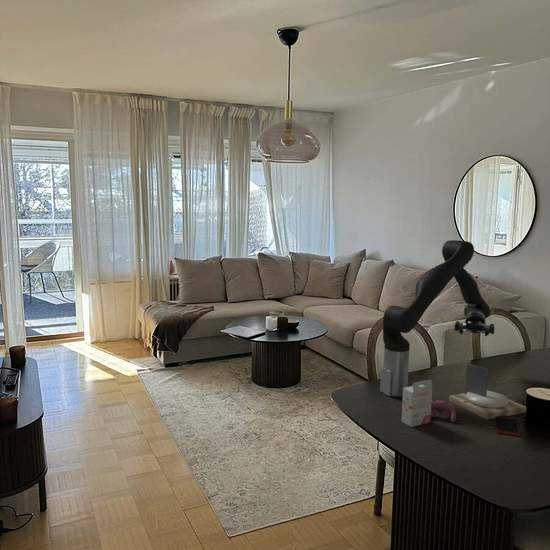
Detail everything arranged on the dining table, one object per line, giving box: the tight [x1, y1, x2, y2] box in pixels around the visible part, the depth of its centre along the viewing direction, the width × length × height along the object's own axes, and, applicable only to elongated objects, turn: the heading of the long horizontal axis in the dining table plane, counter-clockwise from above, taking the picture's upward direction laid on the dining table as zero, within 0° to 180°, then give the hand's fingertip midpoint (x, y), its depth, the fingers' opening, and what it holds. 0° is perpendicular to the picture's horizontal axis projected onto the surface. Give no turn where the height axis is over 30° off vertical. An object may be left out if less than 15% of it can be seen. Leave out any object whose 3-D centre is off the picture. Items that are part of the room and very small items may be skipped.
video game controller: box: [431, 399, 457, 424], centre depth 173 cm, size 10×5×7 cm, turn 71°
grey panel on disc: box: [464, 363, 510, 408], centre depth 184 cm, size 15×14×11 cm
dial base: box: [448, 389, 527, 421], centre depth 184 cm, size 18×18×2 cm
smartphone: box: [493, 416, 522, 438], centre depth 168 cm, size 7×1×15 cm
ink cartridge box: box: [401, 379, 433, 428], centre depth 169 cm, size 9×5×15 cm, turn 117°
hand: (473, 332), depth 194 cm, fingers open, 8 cm apart
